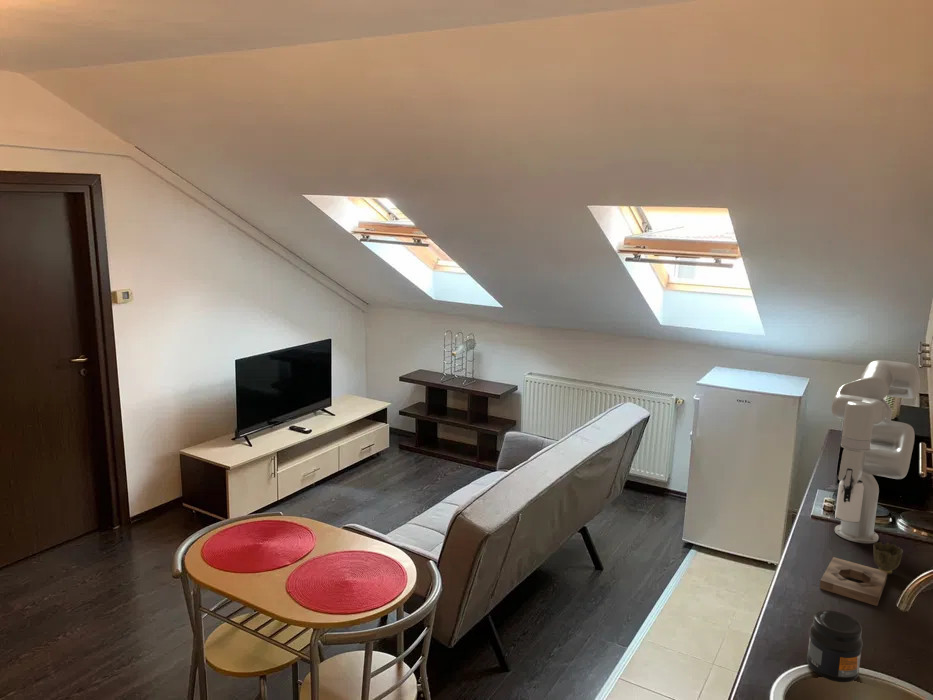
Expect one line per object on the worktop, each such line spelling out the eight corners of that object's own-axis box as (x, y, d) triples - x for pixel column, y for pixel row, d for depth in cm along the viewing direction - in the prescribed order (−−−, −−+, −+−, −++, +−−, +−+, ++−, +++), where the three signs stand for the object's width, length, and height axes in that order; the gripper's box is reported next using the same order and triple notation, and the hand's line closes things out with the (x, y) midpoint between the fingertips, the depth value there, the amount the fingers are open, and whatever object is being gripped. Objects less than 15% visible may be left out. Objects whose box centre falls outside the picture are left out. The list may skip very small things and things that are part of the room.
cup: (874, 576, 194) (877, 550, 193) (867, 564, 201) (870, 540, 200) (903, 580, 192) (907, 554, 191) (894, 568, 199) (898, 543, 198)
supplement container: (869, 682, 147) (876, 632, 145) (827, 687, 146) (833, 637, 143) (835, 653, 158) (841, 606, 156) (795, 657, 156) (801, 610, 154)
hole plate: (832, 564, 201) (833, 557, 200) (886, 580, 192) (887, 572, 192) (819, 588, 187) (820, 580, 187) (877, 606, 178) (878, 597, 178)
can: (863, 524, 196) (869, 484, 195) (841, 521, 196) (846, 482, 195) (852, 516, 202) (857, 478, 201) (830, 514, 202) (835, 476, 201)
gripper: (847, 434, 205) (840, 491, 208) (835, 446, 192) (828, 506, 195) (875, 439, 201) (867, 497, 203) (865, 452, 188) (857, 513, 190)
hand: (848, 501), depth 199 cm, fingers closed on can, 4 cm apart
